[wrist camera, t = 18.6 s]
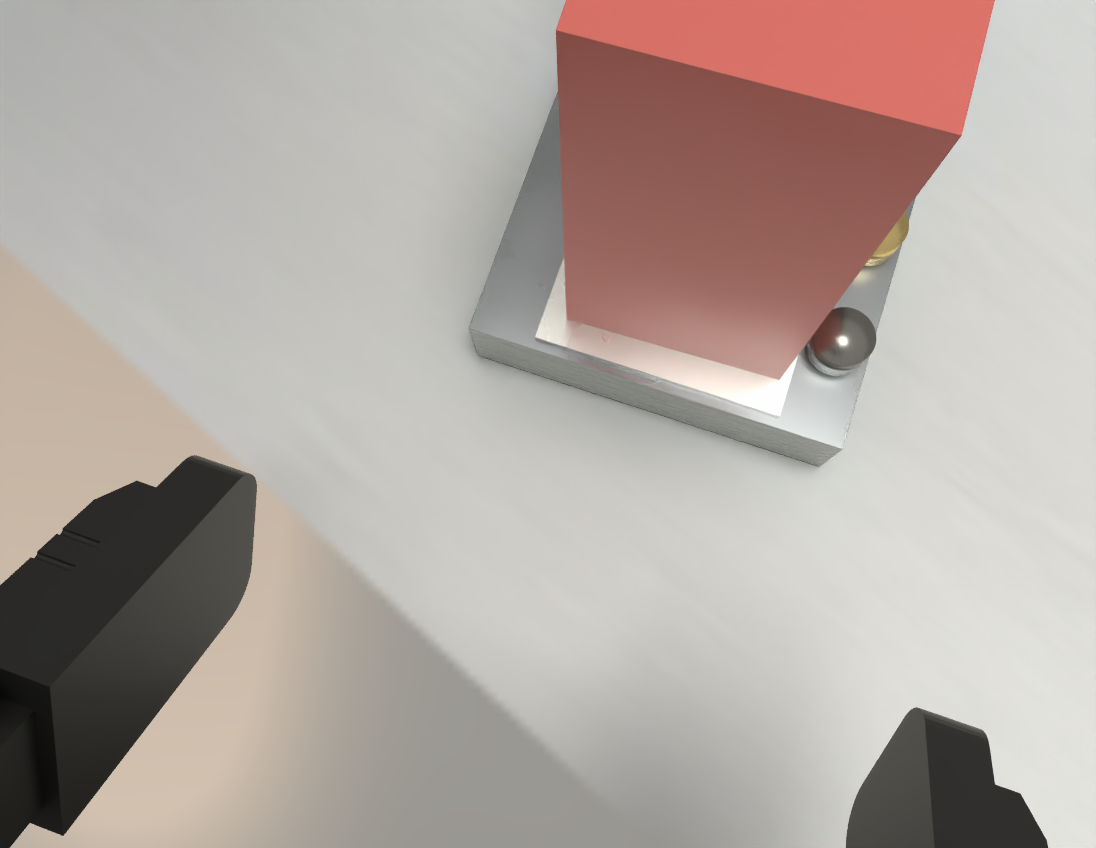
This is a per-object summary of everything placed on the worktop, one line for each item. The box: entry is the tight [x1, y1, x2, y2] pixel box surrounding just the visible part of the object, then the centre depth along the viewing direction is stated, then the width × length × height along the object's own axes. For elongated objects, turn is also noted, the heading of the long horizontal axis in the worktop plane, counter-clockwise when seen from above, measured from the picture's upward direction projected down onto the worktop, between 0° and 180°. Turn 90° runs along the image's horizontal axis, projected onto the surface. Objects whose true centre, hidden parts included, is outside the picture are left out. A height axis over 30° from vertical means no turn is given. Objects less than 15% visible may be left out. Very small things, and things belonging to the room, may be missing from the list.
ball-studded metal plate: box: [469, 93, 915, 467], centre depth 22 cm, size 13×8×5 cm, turn 161°
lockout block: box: [556, 0, 995, 380], centre depth 16 cm, size 4×4×10 cm
